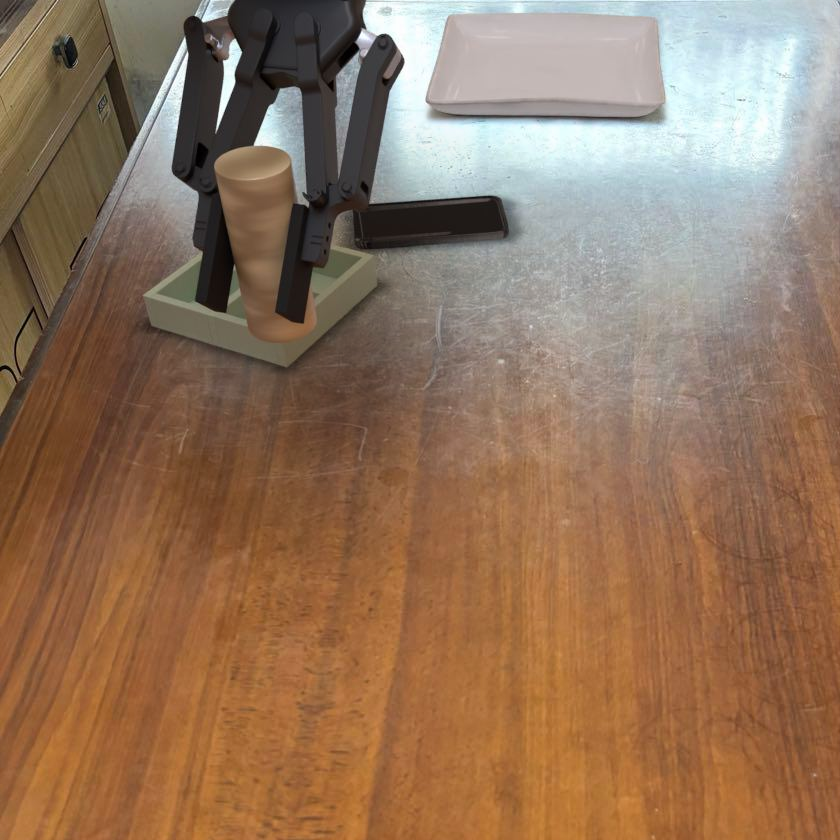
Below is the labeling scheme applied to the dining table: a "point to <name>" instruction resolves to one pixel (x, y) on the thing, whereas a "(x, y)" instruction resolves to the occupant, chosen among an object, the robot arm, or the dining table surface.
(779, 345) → the dining table surface
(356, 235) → the phone
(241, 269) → the tan wooden cylinder
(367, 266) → the grid
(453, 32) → the square plate
